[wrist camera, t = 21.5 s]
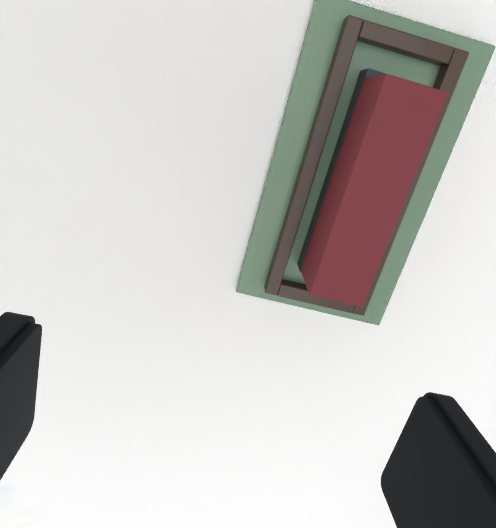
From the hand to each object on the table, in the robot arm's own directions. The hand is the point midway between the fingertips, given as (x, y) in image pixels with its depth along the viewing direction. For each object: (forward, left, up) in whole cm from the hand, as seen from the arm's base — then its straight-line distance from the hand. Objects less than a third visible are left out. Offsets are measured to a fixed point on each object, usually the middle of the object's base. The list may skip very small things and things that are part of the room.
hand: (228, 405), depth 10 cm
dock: (+7, +4, -22) cm, 24 cm away
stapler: (+7, +4, -22) cm, 23 cm away
